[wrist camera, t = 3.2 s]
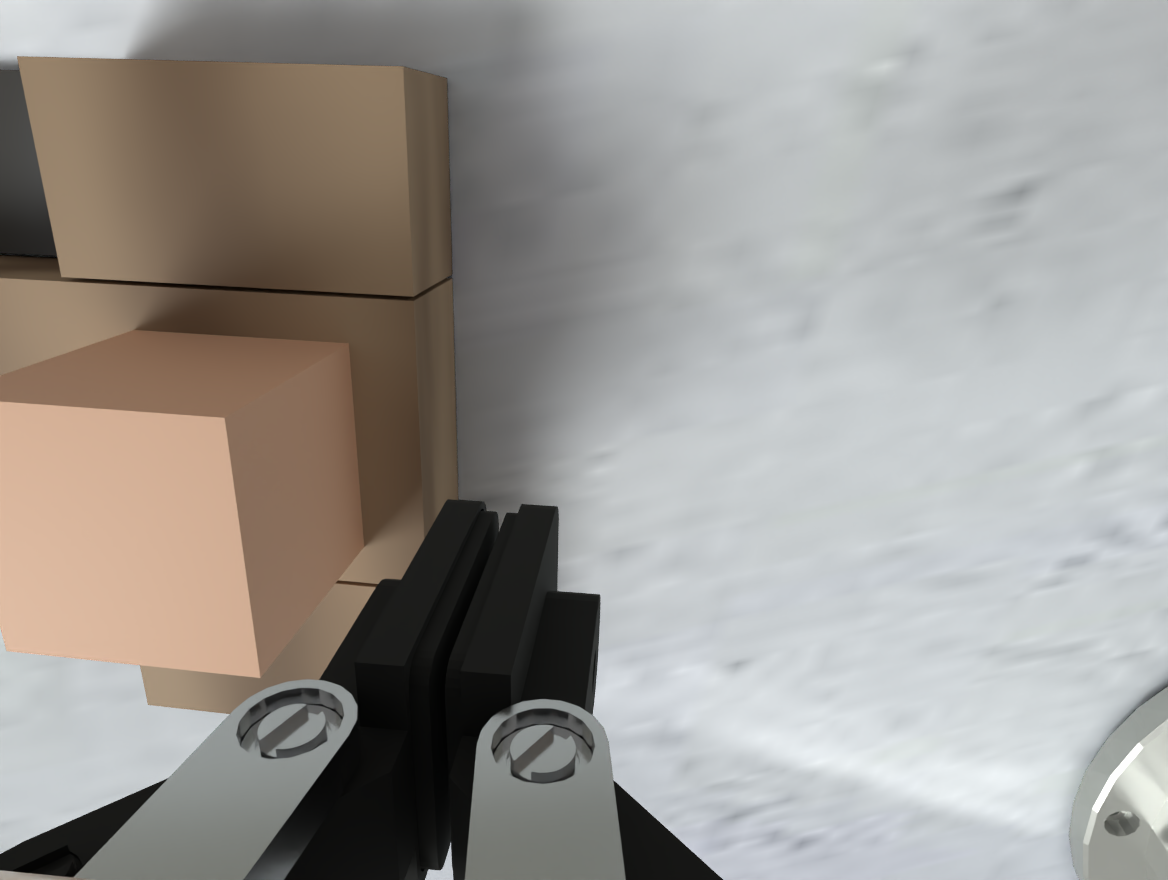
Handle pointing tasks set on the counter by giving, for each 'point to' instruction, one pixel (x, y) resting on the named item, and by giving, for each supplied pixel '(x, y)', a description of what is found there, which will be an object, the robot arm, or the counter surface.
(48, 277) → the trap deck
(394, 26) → the counter surface
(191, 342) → the block
